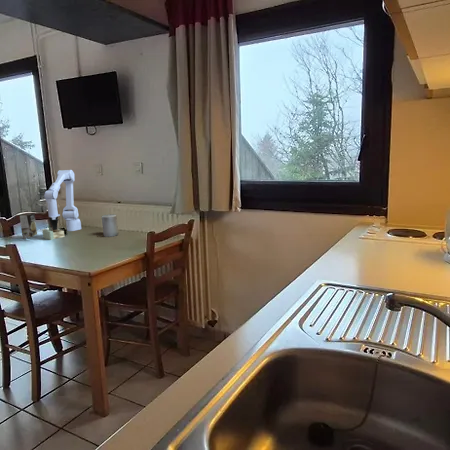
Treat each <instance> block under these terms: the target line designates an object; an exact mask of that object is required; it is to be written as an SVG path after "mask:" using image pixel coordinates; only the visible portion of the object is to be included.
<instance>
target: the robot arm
mask: <svg viewBox="0 0 450 450" xmlns="http://www.w3.org/2000/svg"><path fill="white" fill-rule="evenodd" d="M56 174H57V177H56V179H55V182H53V183H51V185H50V187H49V188H48V190H46V191H45V192H44V199H45V202H46V204H47V212H48V221H49V222H50V224H51V228H52V227H53V230H58V223H59V217H60V216H61V214H59V212H58V204H57V203H58V202H57V199H58V194H59V191H60V189H61V185H62V183H64V184H65V206H64V207H63V209H62V218H63V219H64V220H65V226H66V231H67V232H74V231H79V230H82V222H81V219H80V218H79V211H78V210H79V209H78V208H77V206H75V202H74V200H75V199H74V182H75V172H74V171H73V170H72V169H64V170H61V169H59V170H58V171H57V173H56ZM53 230H52V231H53Z"/></svg>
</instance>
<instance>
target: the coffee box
mask: <svg viewBox="0 0 450 450" xmlns="http://www.w3.org/2000/svg"><path fill="white" fill-rule="evenodd" d="M19 221H20V228H21V238H22V239H23V240H24V239H26V240H27V239H28V238H32V237H34V236H37V235H38V229H37V223H36V214H35V212H30V213H29V212H28V213H24V214H21V215H19ZM28 240H29V239H28Z"/></svg>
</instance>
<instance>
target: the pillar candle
mask: <svg viewBox="0 0 450 450" xmlns="http://www.w3.org/2000/svg"><path fill="white" fill-rule="evenodd" d="M101 223H102V225H101V226H102V231H103V233H102V235H103V237H105V238H109V237H110V238H112V237H117V236H119V229H118V227H119V225H118V219H117V214H114V213H113V214H111V213H108V214H104V215H102V216H101Z"/></svg>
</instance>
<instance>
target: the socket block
mask: <svg viewBox="0 0 450 450" xmlns="http://www.w3.org/2000/svg"><path fill="white" fill-rule="evenodd" d="M57 230H58V232H53V236H54V239H60V238H65V237H66V236H65V231H64V230H61V229H57Z"/></svg>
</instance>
